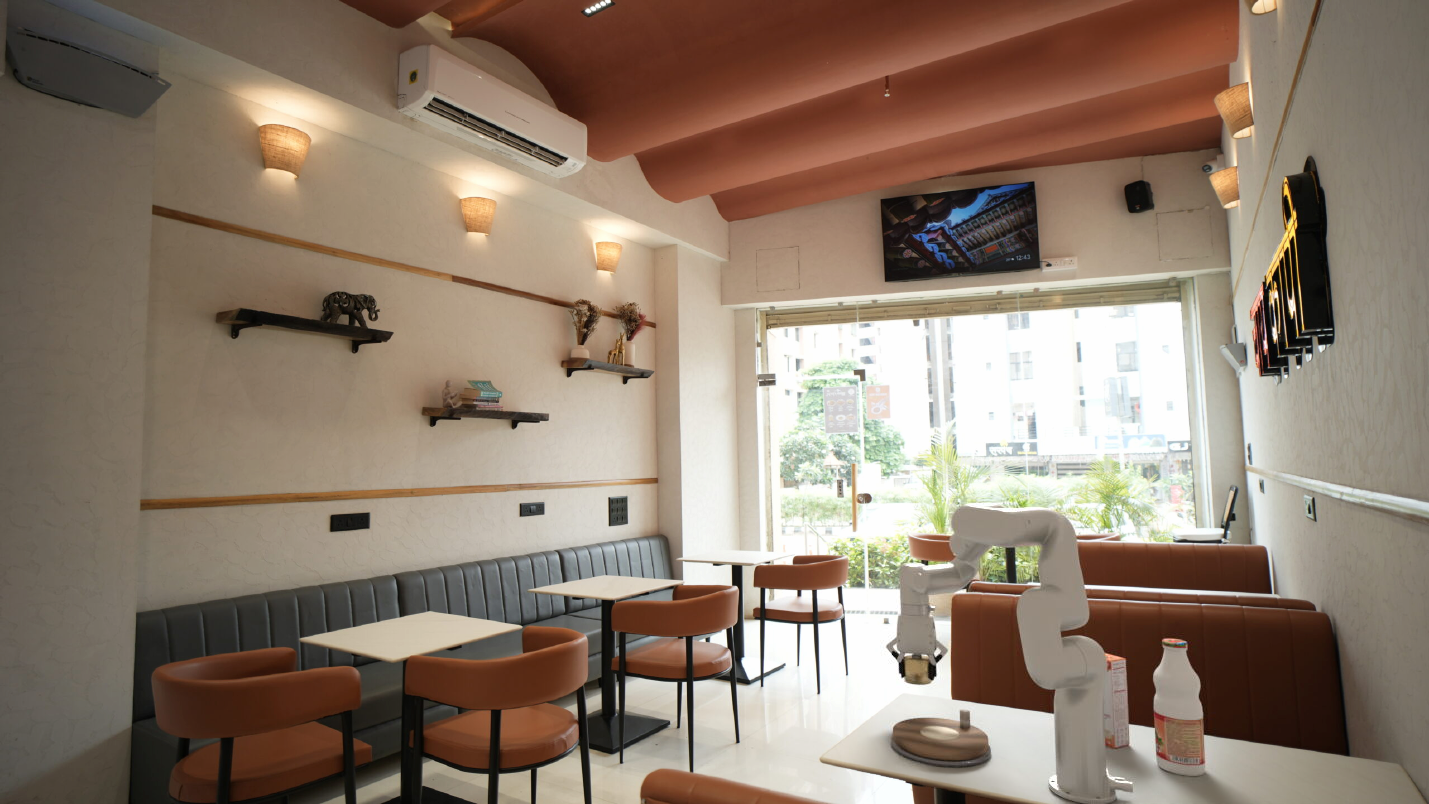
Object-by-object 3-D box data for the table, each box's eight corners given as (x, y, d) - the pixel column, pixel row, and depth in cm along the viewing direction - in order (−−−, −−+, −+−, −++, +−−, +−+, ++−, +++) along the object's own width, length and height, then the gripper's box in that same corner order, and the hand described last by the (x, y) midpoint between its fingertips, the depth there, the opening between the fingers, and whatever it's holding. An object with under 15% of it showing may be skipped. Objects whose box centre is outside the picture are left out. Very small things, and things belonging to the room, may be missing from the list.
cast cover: (937, 681, 198) (935, 655, 199) (920, 686, 194) (919, 659, 195) (915, 676, 204) (914, 650, 204) (898, 680, 199) (897, 654, 200)
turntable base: (993, 738, 185) (993, 734, 185) (987, 774, 164) (987, 769, 164) (899, 725, 194) (899, 721, 194) (882, 757, 173) (882, 753, 173)
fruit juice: (1188, 780, 161) (1181, 647, 163) (1146, 764, 169) (1141, 638, 171) (1215, 772, 165) (1208, 643, 167) (1173, 756, 173) (1167, 634, 175)
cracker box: (1064, 730, 190) (1061, 646, 192) (1080, 726, 193) (1077, 644, 194) (1113, 749, 178) (1110, 660, 179) (1130, 745, 180) (1127, 657, 182)
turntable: (892, 722, 192) (891, 700, 193) (982, 729, 187) (981, 706, 188) (893, 755, 171) (892, 730, 171) (994, 763, 166) (994, 737, 166)
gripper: (950, 609, 201) (953, 677, 199) (885, 605, 207) (887, 671, 206) (946, 614, 194) (950, 684, 192) (879, 610, 201) (882, 678, 199)
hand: (917, 677), depth 199 cm, fingers closed on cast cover, 7 cm apart
